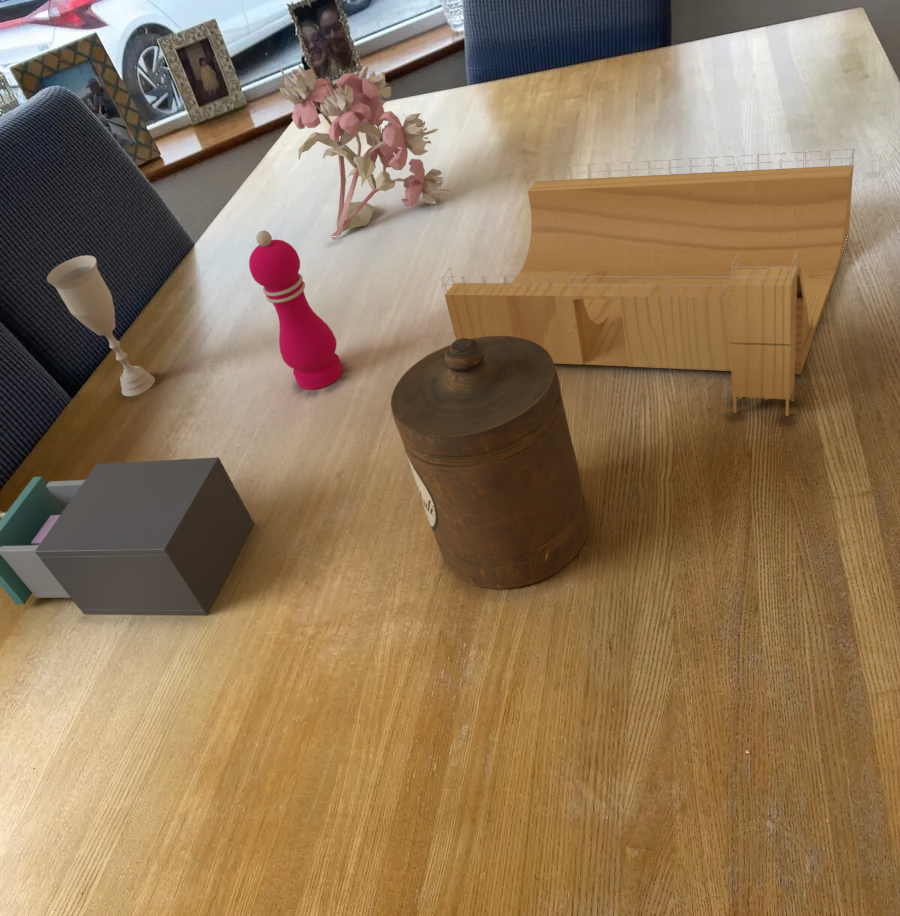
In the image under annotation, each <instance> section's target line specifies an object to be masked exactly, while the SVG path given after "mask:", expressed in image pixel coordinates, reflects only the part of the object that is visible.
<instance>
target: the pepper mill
mask: <svg viewBox="0 0 900 916" xmlns="http://www.w3.org/2000/svg"><path fill="white" fill-rule="evenodd" d="M255 237H256V238H255V239H256V242H257V244H258V245H257V246H256V247H254V249H253V250H252V252H251V253H250V256H249V260H248V266H249V273H250V274H251V277H252V278H253V280H254V282H256V283H257V284H258V285H260V286H262V292H263V294H264V295H265V299H266V301H267V302H269V303H271V304H272V305H273V307H274V309H275V312H276V314H277V317H278V318H277V319H278V324H279V333H278V335H279V336H278V338H279V339H278V342H279V343H278V345H279V353H280V355H281V357H282V360H283V362H284V363H285V365H286V366H288V367H289V368H291V369H292V371H293V374H292V375H293V376H294V378H295V381H296V383H297V385H298V387H300V388H301V389H303V390H307V391H309V390H311V391H312V390H313V391H314V390H320V389H323V388H326V387H327V386H330V385H332V384H333V383H334V382H336V381H337V380H339V378H340V377H341V375H342V373H343V365H342V362H341V359H340V357H339V355H338V354H337V352H336V350H337V345H338V344H337V343H338V342H337V338H336V336H335V334H334V332H333V330H332V329H331V327H329V325H328V324H327V323H326V322H325V321H324V320H323V319H322V318H321V317H320V316H318V314H317V313H316V312H314V310H313V309H312V307H311V305H310V304H309V302H308V300H307V298H306V294H305V289H306V283H305V281H304V279H303V275H302V274H300V273H299V272H300V268H301V260H300V257H299V255H298V252H297V250H296V249H295V247H294V246H293V245H292V244H290V243H289V242H287V241H285V240H282V239H273V237H272V235H271V233H270V232H269V231H267V230H260V231H259V232H257V234H256V236H255Z"/></svg>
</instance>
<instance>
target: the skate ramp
mask: <svg viewBox="0 0 900 916" xmlns="http://www.w3.org/2000/svg"><path fill="white" fill-rule="evenodd" d="M851 150H852V152H851V154H850V156H849V160H851V161H850V163H849V165H848V164H847V165H832V166H831V165H830V164H831V163H830V162H831V154H830V152H832V151H835V152H836V151H838V149H831V150H830V149H829V150H827V154H828V158H823V159H821V158H820V159H818V161H826V160H827V161H828V163H827V166H811V167H810V166H809V167H807V165H806V164H807V161H810V159H807V153H804V157H803V160H801V159H800V160H799V162H803V164H802V167H789V168H783V163H788V162H792V160H781V161H780V168H772V169H760V156H767V155H768V156H769V153H763V154H762V153H761V154H757V169H750V170H749V169H748V170H738V169H736V168H733V171H711V172H694V173H693V172H692V168H695V167H696V168H697V167H700V165H693V160H697V159H699V160H700V157H693V158H692V157H691V158H690V163H689V170H690V173H673V174H672V173H671V170H672V169H677V168H678V169H679V168H681V166H674V167H671V166H672V164H671V163H672V162H671V161H669V167H668V172H669V173H668V174H655V175H654V174H653V175H651V174H652V173H651V172H649V174H648V175H635V176H634V175H633V176H632V175H631V174H629V176H614V177H613V176H612V175H611V174H610V171H611V168H610V165H611V164H612V165H613V164H614V162H606V163H604V165H607V167H608V170H601V171H600V170H599V171H597V173H603V172H605V173H607V175H608V176H609V177H597V178H595V177H593V178H592V175H591V173H589V172H590V170H591V166H593V165H594V166H595V165H597V163H591V164H589V163H588V164H586V166H588V167H587V169H588V171H583V172H581V171H579V174H585V173H588V178H576V179H574V178H572V177H573V176H572V174H571V172H572V169H571V167H576V166H577V167H578V166H579V164H574V165H573V164H570V165H569V169H568V172H567V173H566V172H565V173H562V172H561V173H560V175H566V174H569V175H570V176H569V179H556V180H554V179H553V178H554V177H553V176H554V174H552V173H548V174H546V173H545V174H543V173H542V176H549V175H550V177H551V179H552V180H536V173H535V169H541V168H542V169H543V168H545V166H537V167H531V168H532V169H530V171H528V173H527V174H526V175H525V178H528V175H529V173H531V171H532V173H533V176H532V177H530V180H526V182H527V184H529V183H530V181H531V180H532V179H534V180H533V181H534V183H533V184H532V185H531V187H529V185H527V186H528V190H527V194H528V200H529V207H530V215H531V216H530V221H531V222H530V223H531V224H530V225H531V226H530V227H531V229H530V240H529V247H528V251H527V255H526V259H525V261H524V264H523V266H522V268H521V269H520V271H519V272H518V274H516V276H515V277H514V279H513V281H512V282H507V276H504V277H503V279H504V281H505V282H487V281H486V276H483V278H482V281H483V282H466V280H465V276H461V279H462V282H455V281H454V276H453V274H452V270H451V267H449V268H448V269H447V271H445V273H444V274H443V276H442V277H441V278H440V281H441V285H442V288H443V293H444V298H445V303H446V306H447V311H448V314H449V318H450V322H451V326H452V329H453V334H454V338H455V341H456V340H458V339H461V338H468V339H473V338H479V337H486V336H512V337H518V338H522V339H526V340H529V341H532V342H534V343H536V344H538V345H540V346H541V347H543V348H544V349H545V350H546V351H547V352H548V353H549V354H550V356H551V357H552V359H553V362H554V364H557V365H558V364H559V365H560V364H561V365H590V366H591V365H592V366H610V367H611V366H613V367H628V368H629V367H630V368H651V369H652V368H654V369H675V370H676V369H677V370H698V371H723V372H724V371H725V372H730V373H731V375H730V376H731V397H732V405H733V406H732V411H733V412H732V413H733V414H736V413H737V410H738V409H737V406H738V405H737V397H738V399H739V400H742V399H743V398H751V399H752V398H753V399H754V398H755V399H764V401H769V399H771V400H772V399H773V400H785V415H784V416H785V417H789V415H790V402H791V403H792V402H793V403H794V401H795V379H796V378H795V375H801V374H802V372H803V368H804V366H805V363H806V360H807V357H808V354H809V352H810V349H811V346H812V343H813V339H814V335H815V332H816V330H817V327H818V326H819V322H820V320H821V317H822V314H823V311H824V308H825V306H826V303H827V300H828V297H829V295H830V292H831V288H832V286H833V283H834V280H835V277H836V275H837V271H838V269H839V266H840V263H841V260H842V257H843V254H844V251H845V249H846V245H847V243H848V240H849V237H850V234H849V235H848V232H849V233H850V223H851V208H852V192H853V179H854V177H853V176H854V164H853V162H854V160H855V148H849V149H848V148H847V149H844V151H851ZM816 152H817V153H818V152H821V150H812V151H810V153H816ZM801 153H803V151H797V152H796V151H795V152H792V154H801ZM785 154H786V152H779V153H777V152H775V155H785ZM748 156H749V157H751V156H752V154H743V155H741V157H748ZM732 157H733V158H734V155H728V156H727V155H725V156H724V158H732ZM715 158H717V156H713V157H712V156H709V157H707V159H712V164H711V165H707V167H712V170H715V167H717V166H718V164H715V163H714V162H715V160H714V159H715ZM845 159H846V160H847V157H840V158H836V160H845ZM680 160H681V161H682V160H683V158H676V159H672V161H680ZM662 161H664V162H665V161H666V159H659V160H656V159H655V162H662ZM645 162H647V167H648V168H647V169H650V167H651V163H650V162H651V160H642V161H641V160H640V161H638V163H645ZM630 163H631V161H625V162H621V164H628V167H627V171H628V173H630V170H631V165H630ZM770 163H773V161H769V162H768V161H766V162H765V161H763V162H762V164H770ZM753 164H755V162H748V163H745V162H744V165H753ZM732 165H733V166H735V163H728V164H726V166H732ZM556 167H557V168H560V167H562V165H557V166H556V165H555V166H553V165H552V167H550V168H549V169H550V172H553V168H556ZM657 169H660V170H661V169H663V167H657V168H656V167H655V168H652V170H657ZM641 170H643V171H644V168H638V169H637V168H635V169H634V171H641ZM622 171H626V169H619V170H617V169H616V170H615V172H622ZM847 236H848V237H847ZM846 239H847V240H846ZM845 242H846V243H845ZM844 245H845V246H844ZM843 248H844V249H843ZM842 251H843V252H842ZM841 254H842V255H841ZM448 271H450V274H451V276H449V277H448V280H447V281H446V282H445V275H446V274H447V273H448ZM442 279H443V280H442ZM450 279H452V284H447V283H448V281H449V280H450ZM443 283H444V284H443ZM444 286H445V287H444ZM447 286H450V288H449V289H447ZM445 290H446V291H445Z"/></svg>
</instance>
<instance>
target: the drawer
mask: <svg viewBox="0 0 900 916" xmlns="http://www.w3.org/2000/svg"><path fill="white" fill-rule="evenodd" d="M85 480H86V479H77V480H76V479H74V480H53V481H51V480H50V481H48V483H47V481H46V480H45V479H44V477H43V476H33V477H32V479H31V480H30V481H29V482H28V484H27V485H26V486H25V488H24V489H23V490H22V492H21V493H20V494H19V495H18V497H17V498H16V500H14V502H13V503H12V504H11V506H10V507H9V509H8V510H7V511H6V512H3V511H1V510H0V587H1V588H2V589H3V590H4V592H5V593H6V594H7V595H8V597H10V599H11V600H12V601H13V602H14V604H15V605H25V604H26V603H27V602H28V600H29V599H30V597H31V596H32V595H33V596H34V597H35V598H36V599H37V598H38V599H39V598H41V599H42V598H43V599H44V598H45V599H47V598H51V599H52V598H55V599H57V598H58V599H59V598H60V599H62V598H64V599H71V597H70V596H69V595H68V594H67V592H66V591H65V590H64V588H63V587H62V586H61V585H60V583H59V582H58V581H57V580H56V578H55V577H54V576H53V575H52V573H51V572H50V571H49V569H48V568H47V567H46V566H45V564H44V563H43V562H42V561H41V559H40V558H39V556H38V555H37V554H36V553H35V550H36V549H37V547H38V546H39V545H32V544H31V542H32V541H33V539H34V538H35V537H36V535H37V534H38V532H39V531H40V530H41V528H42V527H43V525H44V524H45V523H46V521H47V520H48V518H49V517H50V516H51V515H61V514H62V512H63V511H64V509H65V508H66V507H67V505H68V504H69V502H70V501H71V500H72V498H73V497H74V495H75V494H76V493H77V491H78V490H79V488H80V487H81V485H82V484H83V483H84V481H85Z"/></svg>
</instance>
